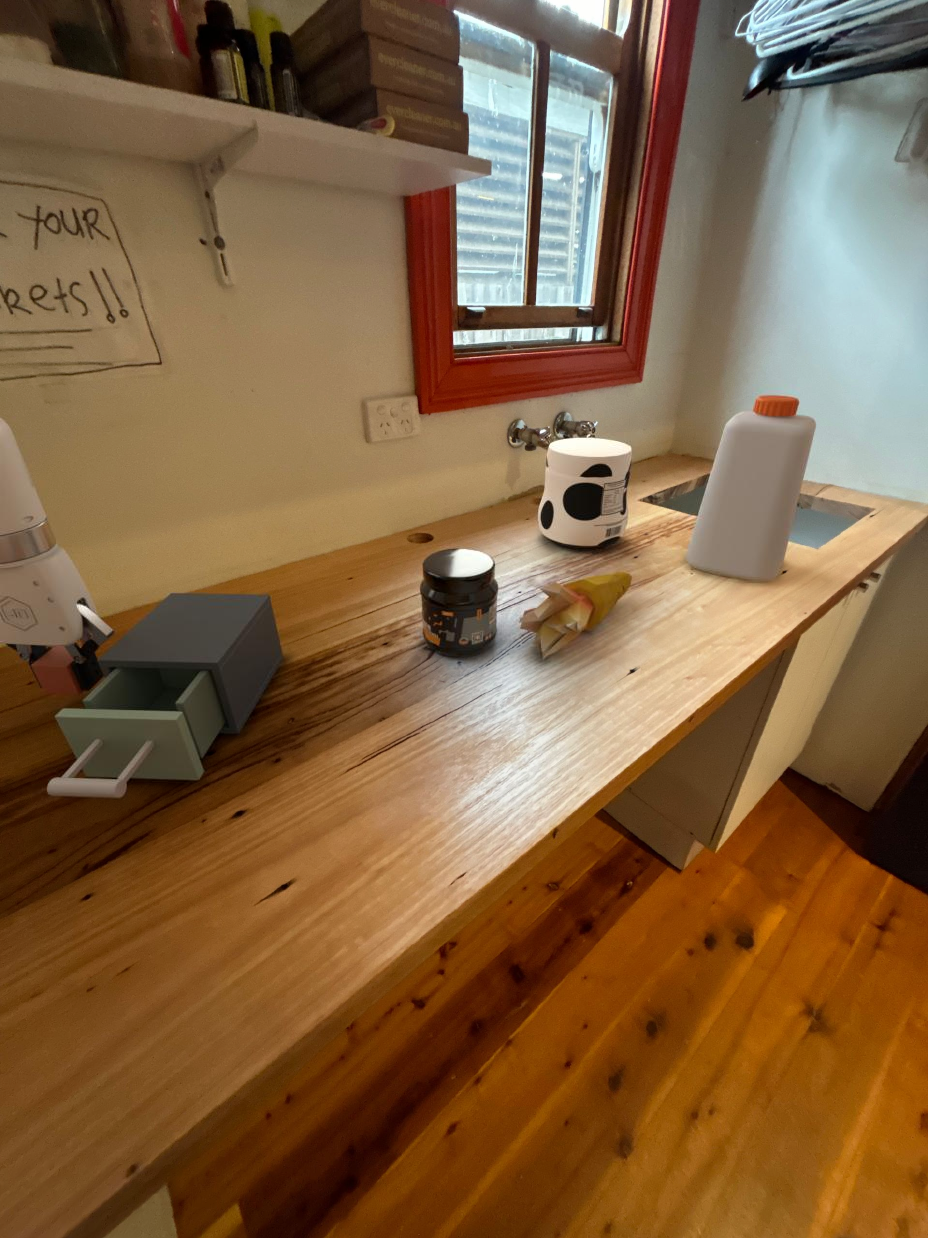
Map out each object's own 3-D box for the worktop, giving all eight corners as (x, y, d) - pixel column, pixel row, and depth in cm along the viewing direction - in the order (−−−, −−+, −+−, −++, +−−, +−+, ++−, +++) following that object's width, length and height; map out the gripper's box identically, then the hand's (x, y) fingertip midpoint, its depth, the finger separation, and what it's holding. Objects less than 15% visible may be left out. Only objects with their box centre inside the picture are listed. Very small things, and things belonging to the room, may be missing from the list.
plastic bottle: (678, 568, 95) (715, 400, 81) (699, 540, 106) (734, 388, 92) (773, 589, 88) (831, 409, 74) (784, 557, 99) (837, 394, 84)
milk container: (546, 519, 117) (552, 434, 108) (628, 528, 112) (641, 439, 103) (527, 549, 103) (532, 454, 94) (619, 561, 98) (634, 462, 89)
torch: (623, 618, 88) (536, 670, 70) (589, 584, 90) (497, 626, 73) (655, 584, 82) (570, 631, 65) (619, 549, 85) (527, 585, 67)
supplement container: (416, 625, 79) (412, 550, 73) (485, 615, 82) (485, 542, 75) (431, 665, 71) (426, 584, 64) (506, 653, 73) (509, 574, 67)
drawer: (165, 835, 47) (136, 771, 43) (40, 830, 48) (-1, 767, 44) (252, 693, 64) (237, 638, 60) (159, 691, 65) (138, 636, 61)
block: (44, 694, 63) (30, 665, 61) (69, 672, 66) (56, 644, 64) (79, 695, 63) (66, 666, 60) (102, 674, 66) (90, 645, 64)
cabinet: (238, 734, 60) (217, 662, 55) (128, 731, 60) (96, 660, 55) (283, 658, 72) (269, 594, 67) (191, 656, 73) (171, 592, 68)
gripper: (-105, 553, 52) (-20, 699, 61) (63, 559, 51) (123, 706, 61) (-39, 525, 58) (29, 661, 68) (111, 530, 58) (158, 667, 67)
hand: (73, 681), depth 64 cm, fingers closed on block, 4 cm apart
